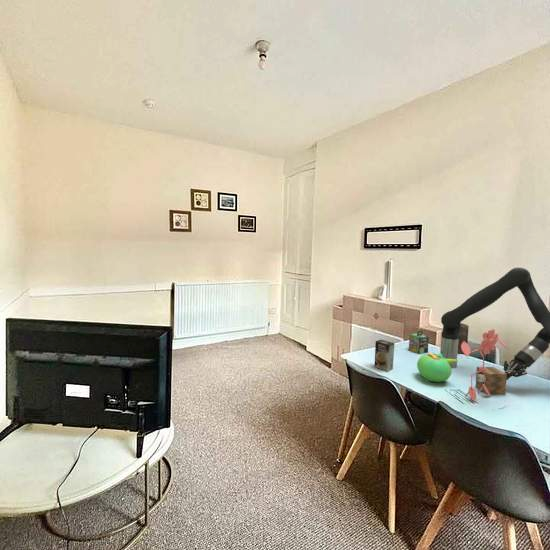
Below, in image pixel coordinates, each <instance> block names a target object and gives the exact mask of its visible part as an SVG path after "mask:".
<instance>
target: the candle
mask: <svg viewBox="0 0 550 550" xmlns="http://www.w3.org/2000/svg"><path fill="white" fill-rule="evenodd" d="M463 341H465V342H466V343H467V344H468V341H469V325H468V324H465V323H462V322H461V324H460V333H459V339H458V353H457V354H464V353H463V351H462V349H461V345H462V343H463ZM468 345H469V344H468Z"/></svg>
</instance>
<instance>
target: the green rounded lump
mask: <svg viewBox="0 0 550 550" xmlns="http://www.w3.org/2000/svg"><path fill="white" fill-rule="evenodd" d="M458 361H459V360H458V359H457V360H456V359H446V358H443V356H442V354H441V353H440V352H439V353H438V354H436V353H431V352H428V353H424V354H422V355H420V357H419V358H418V359H417V362H416V366H417V370H418V373H419V374H420V375H421V376H422V377H423V378H424V379H427V380H429V381H432V382H435V383H441V382H445V381H446V380H448V379H449V378H450V377H451V375H452V367H451V366H450V363H454V362H457V363H458Z"/></svg>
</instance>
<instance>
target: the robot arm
mask: <svg viewBox="0 0 550 550" xmlns="http://www.w3.org/2000/svg"><path fill="white" fill-rule="evenodd" d="M516 287H517V288H518V290H519V291H520V293H521V294H522V297H523V298H524V301H525V303H526V305H527V308H528V310H529V311H530V313H531V315H532V317H533V318H534V320H535V322H536V323H539V324H540V325H541V326H542V328H541V329H539V331H538V332H537V333H536V335H535V336H534V338H533V339H532V340H530V341H529V342H528V344H526V345H524V347H522V348H521V349H520V350H519V351H518V352H517V353H516V354H515V355H514V357H513V359H511V360H510V361H507V360H504V363H503V372H504V373H506V374H507V380H506V381H508V380H509V379H510V378H511V377H514V378H519V377H522V376H526V375H528V372H527V369H528V368H530V367H531V366H532V365H533V364H535V363H536V362H537V360H539V359H540V358H541V356H542V355H543V354H544V353H546V352H547V351H548V350H549V348H550V310H549V309H548V307H547V306H546V305H547V304H545V302H544V301H543V299H542V298H541V296H540V294H539V292H538V291H537V289H536V286H535V285H534V283H533V279H532V276H531V272H529V270H528V269H526V268H523V267H513V268H512V269H510V270H509V271H508V272H507V273H505V274H504V275H503V276H502V277H501V278H499V279H497V280H496V281H495V282H493V283H491V284H489V285H487V286H485V287H484V288H482V289H481V290H478V291H477V292H475V293H474V294H473V295H471V296H470V297H468V298H467V299H466V300H465V301H464V302H463V303H461V304H460V305H459V306H458V307H455V308H454V309H452V310H449V311H447V312H445V313H444V314H442V317H441V319H440V321H441V322H440V323H441V324H442V330H441V336H440V337H441V339H440V350H439V353H441V354H442V356H443V358H446V359H456V360H458V354H459V353H458V339H459V333H460V324H461V323H462V322H464V320H465V319H466V318H469V317H470V316H472V315H474V314H477V313H478V312H481V311H483V310H484V309H486V308H488V307H489V306H491V305H493V304H494V303H496V301H498V300H499V299H500V298H501V297H503V296H504V295H505V294H506V293H507V292H509V291H511V290H513V289H515V288H516ZM457 364H458V361H457V362H454V363H450V366H451V368H456V367H457V366H458V365H457Z"/></svg>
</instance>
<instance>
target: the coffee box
mask: <svg viewBox="0 0 550 550" xmlns="http://www.w3.org/2000/svg"><path fill="white" fill-rule="evenodd" d="M374 348H375V349H374V350H375V351H374V368H376V369H379V370H381V369H382V371H384V372H387V373H388V372H390V371H392V370H393V369H394V357H395V356H394V355H395V343H394V342H392V341H389V340H384V339H378V340H376V341H375V347H374Z"/></svg>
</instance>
